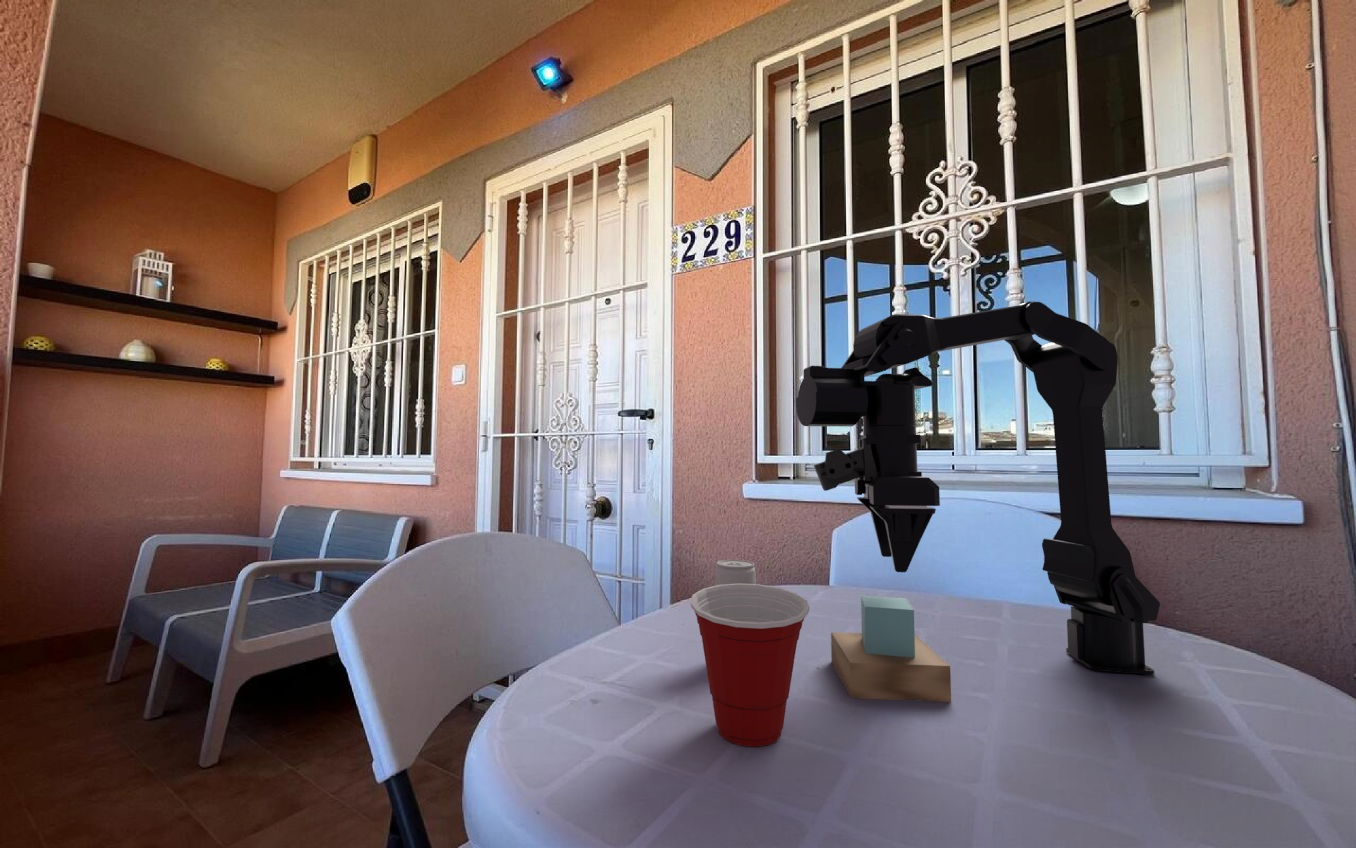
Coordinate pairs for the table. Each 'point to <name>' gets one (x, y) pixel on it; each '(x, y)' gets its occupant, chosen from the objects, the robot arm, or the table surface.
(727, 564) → the beverage can
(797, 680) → the table surface
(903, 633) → the teal cube
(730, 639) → the plastic cup
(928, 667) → the light brown wooden block
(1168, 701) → the table surface
